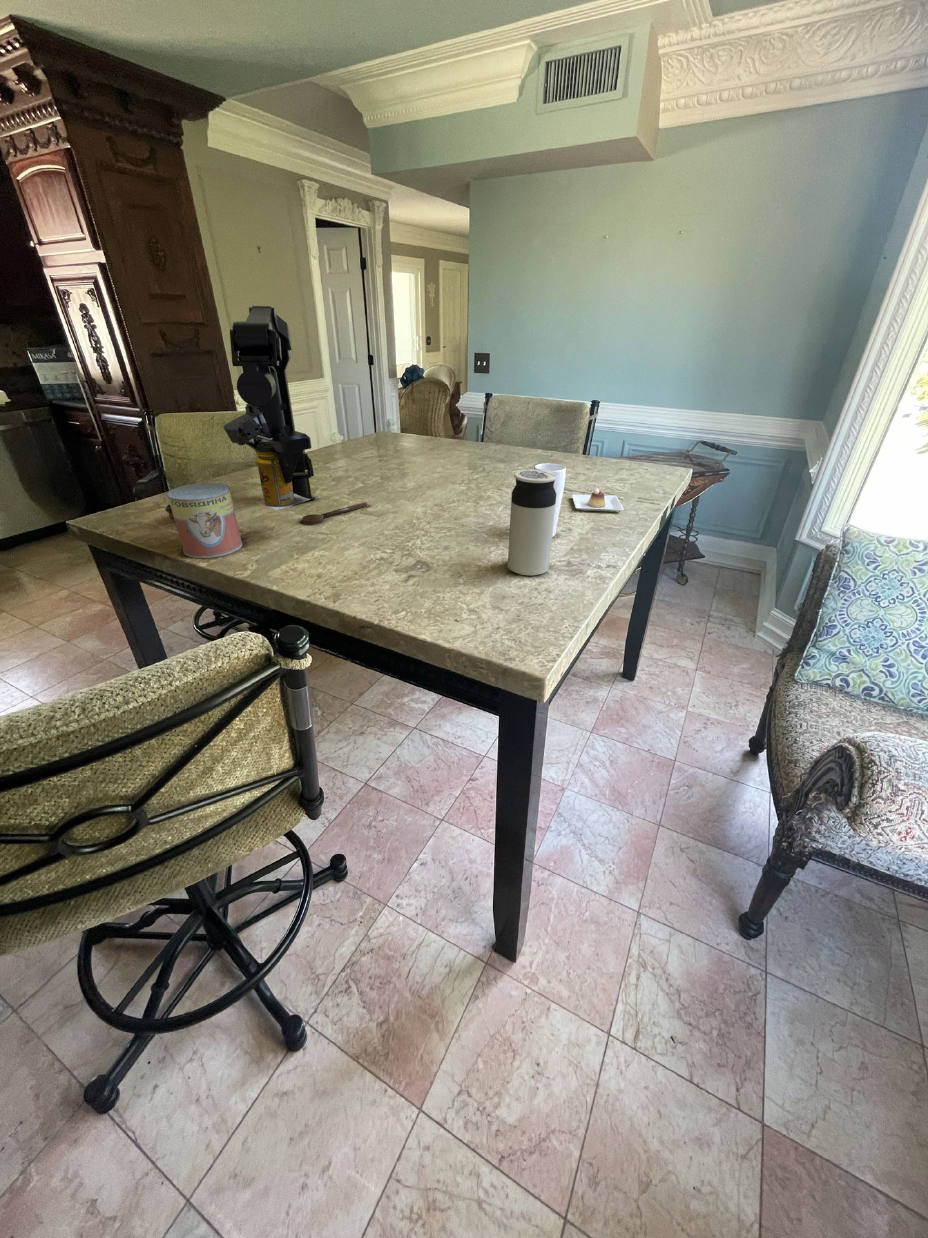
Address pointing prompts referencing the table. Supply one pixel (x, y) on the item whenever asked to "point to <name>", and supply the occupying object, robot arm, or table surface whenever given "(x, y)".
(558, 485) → the drinking glass
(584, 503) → the dessert
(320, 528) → the table surface
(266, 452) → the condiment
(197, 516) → the canned food
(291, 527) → the table surface
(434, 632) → the table surface
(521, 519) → the travel mug
